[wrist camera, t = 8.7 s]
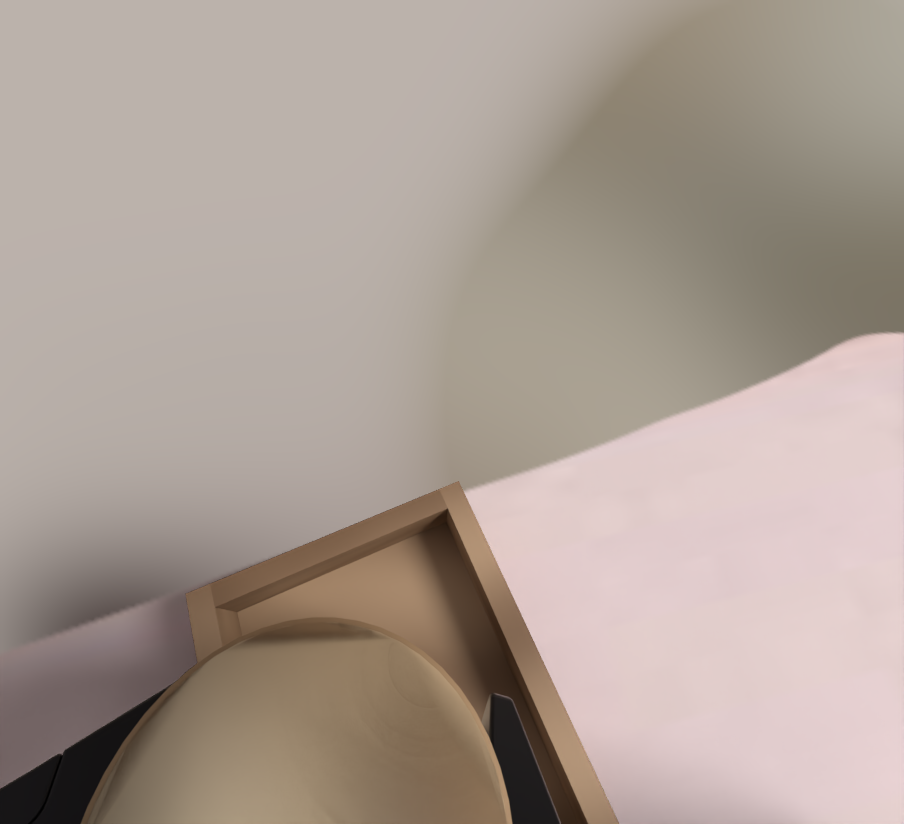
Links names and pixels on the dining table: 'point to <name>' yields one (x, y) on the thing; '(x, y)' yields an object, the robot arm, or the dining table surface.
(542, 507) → the dining table surface
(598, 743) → the dining table surface
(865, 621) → the dining table surface
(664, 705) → the dining table surface
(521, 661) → the walnut tray
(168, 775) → the beech dowel
